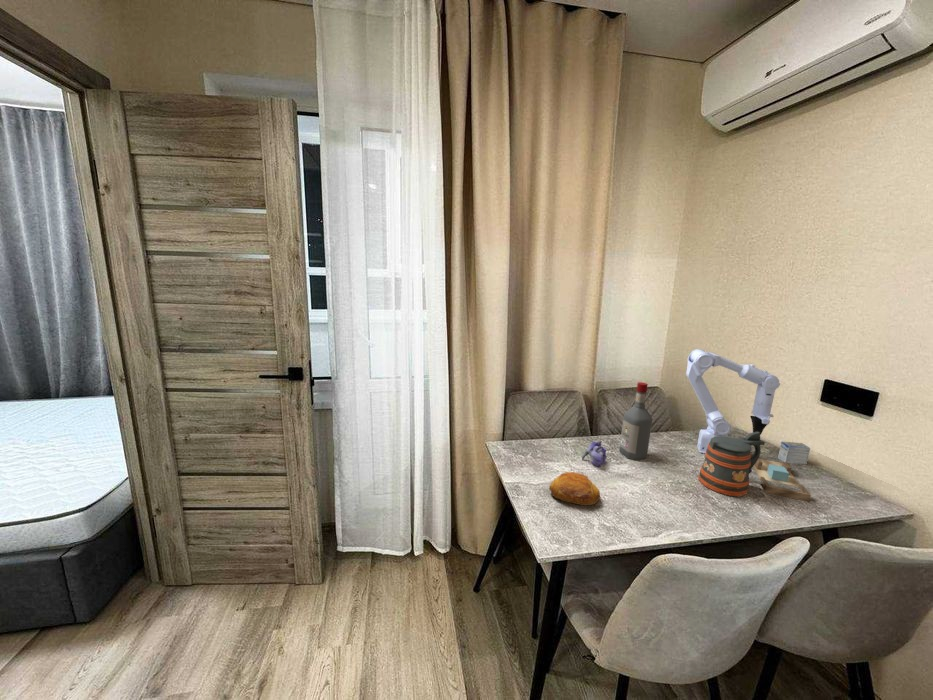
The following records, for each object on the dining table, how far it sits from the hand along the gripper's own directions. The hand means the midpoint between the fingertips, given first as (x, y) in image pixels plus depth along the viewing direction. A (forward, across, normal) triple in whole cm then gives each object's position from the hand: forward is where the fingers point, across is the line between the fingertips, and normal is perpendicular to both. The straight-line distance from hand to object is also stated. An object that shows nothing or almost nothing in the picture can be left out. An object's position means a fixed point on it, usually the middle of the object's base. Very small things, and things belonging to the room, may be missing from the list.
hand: (756, 434), depth 156 cm
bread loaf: (+10, -61, +62) cm, 88 cm away
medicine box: (+10, 0, -13) cm, 17 cm away
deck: (+10, -17, -3) cm, 20 cm away
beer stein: (+10, -30, +14) cm, 35 cm away
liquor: (+10, -21, +45) cm, 51 cm away
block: (+8, -19, -3) cm, 21 cm away
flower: (+10, -36, +59) cm, 69 cm away
